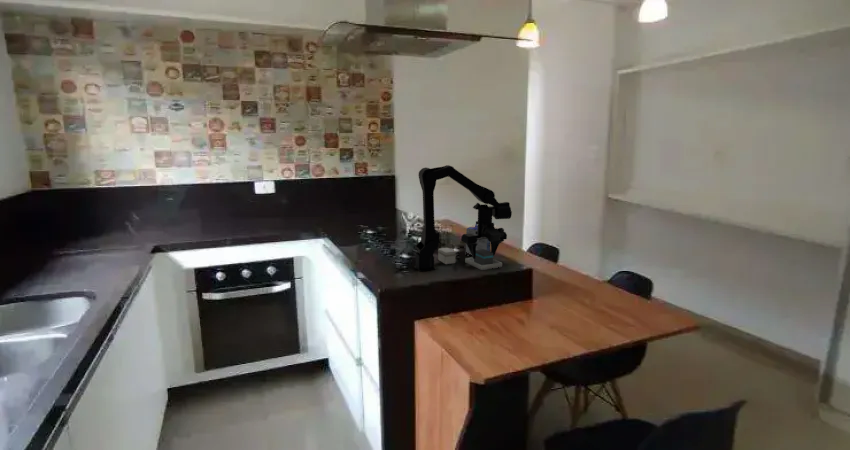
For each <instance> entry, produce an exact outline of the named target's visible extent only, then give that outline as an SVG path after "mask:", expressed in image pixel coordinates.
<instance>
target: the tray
mask: <svg viewBox="0 0 850 450" xmlns="http://www.w3.org/2000/svg"><path fill="white" fill-rule="evenodd" d="M464 259H465V261H464V262H465V263H466V264H467V265H469V266H472V267H474V268H476V269H478V270H480V271H486V270H492V268H493V269H497V268H498V267H499V268H502V267H503V262H502V261H499V260H497V259H494V258H493V264H488V265H480V264H478V263H476V262H474V259H473V257H472V256H471V257H465V258H464ZM499 268H498V269H499Z"/></svg>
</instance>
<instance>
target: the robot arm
mask: <svg viewBox="0 0 850 450" xmlns="http://www.w3.org/2000/svg"><path fill="white" fill-rule="evenodd" d="M447 177H448V178H450V179H451V180H452V181H454V182H456V183H458V185H460V186H462V188H465V189H466V190H468V191H469V192H470V193H471V194H472V195H473V197H474V198H476V200H478V201H479V202H476V203H475V204H474V205H473V206H472V209H474V210H476V211H477V221H475V225H476V224H477V226H478V228H477V231H476V234H477V235H473V234H466V233H464V234H462V235H461V239H460V240H461V242H463V243H464V244H465V245H466V244H467V246H468V248H469V250H470V252H471V254H472V256H471V257H473V259H475V257H476V246H477V243H476V242H477V240H481V239H488V241H490V252H492V253H493V257H495V256H496V255H495V254H496V252H497V250H498V248H499V245H501V244H502V242H504V241H505V240H507V239H508V234H507V232H506V231H505V229H504V228H503V227H499V228H496V227H495V222H493V218H494V219H495V220H510V219H511V217H512V213H513V211H512V207H511V205H510V202H508V201H504V202H498V200H497V199H496V198H495V197H496V195H495V191H493V190H491V189H489V188H487V187H485V186H482V185H480V184H478V183H476V182H475V181H473V180H471V178H469V177H467V176H466V175H464V174H463V173H461V172H460V171H459V170H457V169H456V168H454V166H452V165H450V164H448V165H444V166H438V167H432V168H430V167H422V168H421V169H420V170H419V172H418V180H419V184H420V188H421V191H422V210H423V211H422V214H423V228H422V230H421V235H420V236H421V237H420V241H419V242H418V243H417V244H416V245H415V246H414V248H415V251H417V252H416V253H415V265H414V266H413V268H414V269H416V270H418V271H419V272H427V271H433V270H436V268H435V256H434V255H435V251H436V250H437V249H439V244H441V241H440V236H441V234H440V232H439V231H438V230H437V229H435V198H434V197H435V196H434V195H435V194H434V192H435V189H436V185H437V180H442V179H444V178H447ZM481 203H483V204H481ZM488 205H490V206H488Z"/></svg>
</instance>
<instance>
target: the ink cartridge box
mask: <svg viewBox="0 0 850 450" xmlns="http://www.w3.org/2000/svg"><path fill="white" fill-rule="evenodd" d="M474 225H475V226H469V227H467V228H466V230H465V231H466V233H465V234H473V235H477V234H476V231H477V228H478V224H476V223H475V224H474ZM476 243H477V246H476V250H479V249H485V250H487V251H490V252H491V242H490V241H488V239H481V240H477V242H476ZM466 252H467V253H469V254H471V252H470V250H469V248H468V246H467V244H466V243H465V253H466ZM471 255H472V254H471Z"/></svg>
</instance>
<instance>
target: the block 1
mask: <svg viewBox="0 0 850 450" xmlns="http://www.w3.org/2000/svg"><path fill="white" fill-rule="evenodd" d="M437 249H438V250H437V260H438V261H439V262H441V263H443V264H445V265H448V264H449V265H450V264H451V265H452V264H455V263H456V258H457V255H456V253H457V252H456V250H453V249H452V248H450V247H442V248H437Z"/></svg>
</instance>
